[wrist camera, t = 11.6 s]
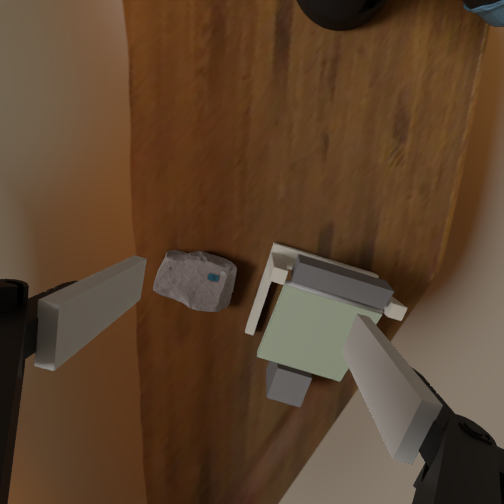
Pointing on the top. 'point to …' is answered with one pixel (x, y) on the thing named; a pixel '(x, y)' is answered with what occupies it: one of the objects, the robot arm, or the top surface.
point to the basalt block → (286, 383)
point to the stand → (284, 260)
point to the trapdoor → (320, 316)
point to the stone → (196, 280)
